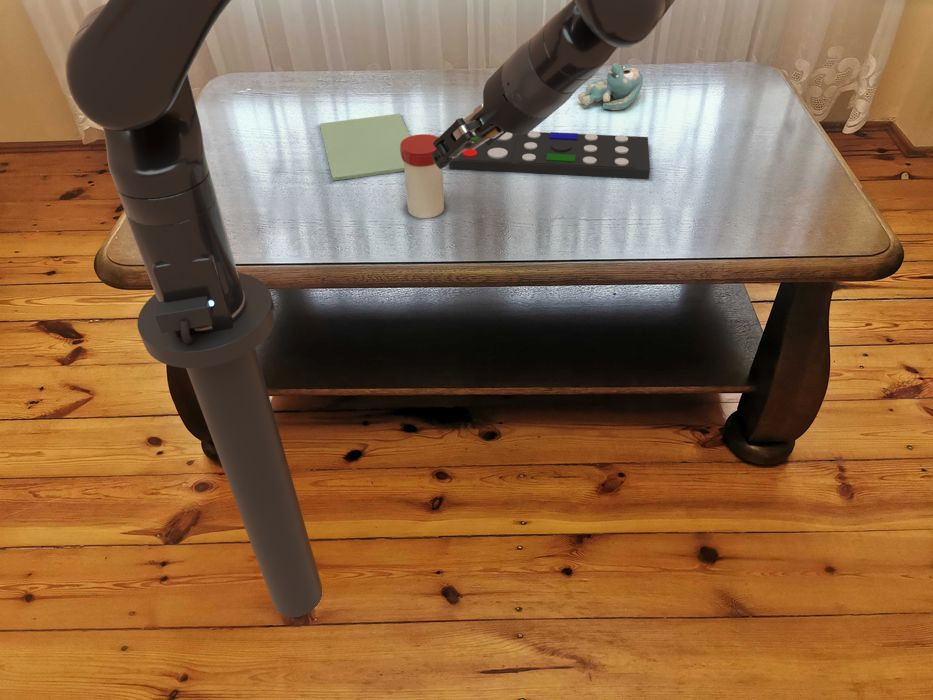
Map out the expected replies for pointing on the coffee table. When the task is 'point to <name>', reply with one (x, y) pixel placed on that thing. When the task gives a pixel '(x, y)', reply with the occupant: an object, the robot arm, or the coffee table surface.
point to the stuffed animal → (615, 88)
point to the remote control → (560, 155)
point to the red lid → (418, 149)
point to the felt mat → (364, 146)
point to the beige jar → (424, 190)
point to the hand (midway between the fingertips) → (461, 149)
